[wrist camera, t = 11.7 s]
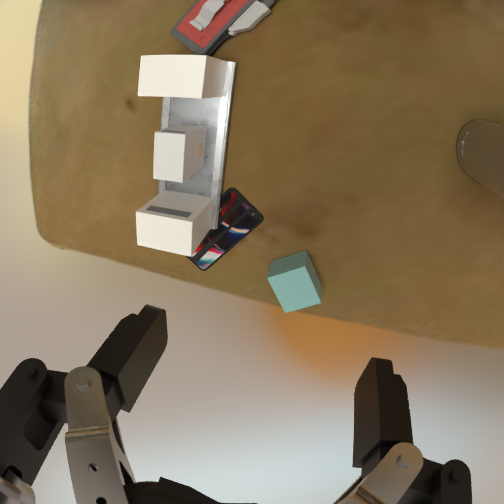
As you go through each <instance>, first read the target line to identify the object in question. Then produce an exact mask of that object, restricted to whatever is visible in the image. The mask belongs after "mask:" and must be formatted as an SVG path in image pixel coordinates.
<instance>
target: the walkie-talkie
mask: <svg viewBox="0 0 504 504" xmlns="http://www.w3.org/2000/svg"><path fill="white" fill-rule="evenodd" d="M275 1H276V0H263V1H262V2H261V3H260V0H197V1H196V2H195V3H194V5H193V6H191V8H190V9H189V10H188V11H187V12H186V14H184V16H183V17H182V18H181V20H179V22H178V23H177V24H176V26H174V28H173V29H172V36H173V37H175V38H176V39H177V40H179V41H180V42H181V43H183V44H184V45H185V46H187V47H188V48H189V49H191V50H192V51H193V52H195V53H196V55H207V56H211V55H212V54H213V53H214V51H215V50H216V49H217V48H218V47H219V46H220V45H221V44H222V43H223V41H225V40H226V39H228V38H230V37H231V36H235V35H236V34H237V33H241V32H245V31H250V30H252V29H253V28H254V27H255V26H256V25H257V24H258V23H259V22H260V21H261V20H262V19H263V18H264V17H265V16H267V15H269V14H270V13H271V11H270V9H269V7H271V6H272V5H273V4H274V2H275Z"/></svg>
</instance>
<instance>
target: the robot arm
mask: <svg viewBox="0 0 504 504" xmlns="http://www.w3.org/2000/svg"><path fill="white" fill-rule="evenodd" d="M456 147H457V157H458V161H459V163H460V165H461V167H462V169H463V170H464V171H465V172H466V173H467V174H468V175H469V176H471V177H472V178H474V179H475V180H477V181H478V182H479V183H481V184H482V185H483V186H485V187H486V188H487V189H489V190H490V191H492V192H493V193H494V194H496V195H497V196H498V197H500V198H501V199H502V200H504V126H502V125H499V124H496V123H493V122H489V121H486V120H481V119H480V120H474V121H471V122H469V123H468V124H466V125H465V126H464V128H463V129H462V130H461V132H460V134H459V137H458V140H457V146H456ZM167 338H168V335H167V321H166V311H165V310H164V309H161V308H157V307H154V306H151V305H145V306H144V308H143V309H142V310H141V311H140V313H139V314H138V315H136V314H130V315H128V316H127V317H125V318H124V319H122V320H121V321H120V322H119V324H118V325H117V326H116V327H115V329H114V331H112V333H111V334H110V335H109V338H107V339H106V340H105V342H104V343H103V344H102V346H101V347H100V348H99V350H98V351H97V352H96V354H95V355H94V356H93V358H92V359H91V360H90V362H89V363H88V364H87V365H86V366H83V367H78V368H75V369H73V370H72V371H70V372H69V373H66V372H59V371H52V370H47V368H46V366H45V364H44V363H43V362H42V361H41V360H39V359H35V358H29V359H26V360H24V361H22V362H21V363H20V364H19V365H18V366H17V367H16V369H15V370H14V371H13V373H12V374H11V375H10V377H9V378H8V380H7V381H6V382H5V384H4V385H3V387H2V388H1V389H0V504H35V495H34V491H33V489H32V488H31V486H32V484H33V482H34V480H35V478H36V476H37V474H38V472H39V470H40V468H41V466H42V464H43V462H44V460H45V458H46V457H47V455H48V453H49V451H50V449H51V447H52V445H53V443H54V441H55V440H56V438H57V436H58V434H59V432H60V430H61V429H62V427H63V425H64V423H68V429H69V430H68V432H67V433H66V434H65V444H66V451H67V458H68V464H69V469H70V475H71V480H72V484H73V489H74V494H75V498H76V502H77V504H256V503H220V502H217V501H215V500H213V499H211V498H210V497H207V496H206V495H204V494H202V493H200V492H199V491H197V490H195V489H193V488H191V487H189V486H186V485H183V484H180V483H177V482H174V481H171V480H168V479H165V478H162V477H160V479H159V482H149V481H148V482H147V481H146V482H137V483H136V481H135V478H134V475H133V472H132V469H131V467H130V464H129V462H128V459H127V456H126V452H125V449H124V445H123V441H122V437H121V433H120V429H119V425H118V420H117V417H116V416H117V415H118V413H119V411H120V409H122V410H124V411H127V412H130V411H131V409H132V407H133V405H134V404H135V402H136V400H137V398H138V396H139V395H140V393H141V391H142V389H143V388H144V386H145V384H146V382H147V380H148V379H149V377H150V375H151V373H152V371H153V369H154V368H155V366H156V364H157V363H158V361H159V359H160V357H161V356H162V354H163V352H164V350H165V348H166V345H167ZM407 398H408V394H407V387H406V384H405V383H404V381H403V379H402V377H401V376H400V375H397V374H394V373H393V365H392V361H391V360H387V359H381V358H374V357H372V358H371V359H370V361H369V363H368V364H367V366H366V368H365V370H364V371H363V373H362V375H361V377H360V378H359V380H358V382H357V385H356V388H355V393H354V445H353V467H356V468H362V474H361V476H360V477H359V478H358V479H357V480H356V481H355V482H354V483H353V484H352V485H351V486H350V487H349V488H348V489H347V490H346V491H345V492H344V493H343V494H342V495H341V496H340V497H339V498H338V499H337V500H336V501H335V502H334V503H333V504H472V490H471V475H470V470H469V468H468V466H467V465H466V464H465V463H464V462H462V461H460V460H456V459H455V460H450V461H448V462H447V463H446V464H444V465H443V464H439V463H436V462H433V461H430V460H428V459H425V458H424V457H423V456H422V453H421V451H420V450H419V449H418V448H417V447H416V446H415V445H414V444H413V437H412V427H411V418H410V409H409V401H408V399H407Z"/></svg>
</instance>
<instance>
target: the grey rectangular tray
mask: <svg viewBox="0 0 504 504" xmlns="http://www.w3.org/2000/svg"><path fill="white" fill-rule="evenodd" d="M236 69H237V63H236V62H227V68H226V76H225V84H224V92H223V97H213V98H203V99H199V98H183V97H163V102H162V116H161V130H162V129H165V128H168V127H171V126H175V125H178V124H189V125H200V126H207V131H206V142H205V153H204V165H203V167H202V168H201V169H200V170H198V171H197V172H196V173H194V174H193V175H192V176H191V177H189V178H188V179H187V180H185V181H184V182H183V183H181V182H174V181H167V180H160V179H159V192H158V194H159V193H161V192H162V191H163V190H164V191H165V190H169V191H175V192H182V193H188V194H194V195H200V196H206V197H211V198H213V202H212V214H211V228H210V229H214V230H215V229H218V227H219V220H220V209H221V199H222V191H223V181H224V171H225V162H226V152H227V143H228V134H229V126H230V117H231V109H232V100H233V92H234V84H235V77H236Z"/></svg>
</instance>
